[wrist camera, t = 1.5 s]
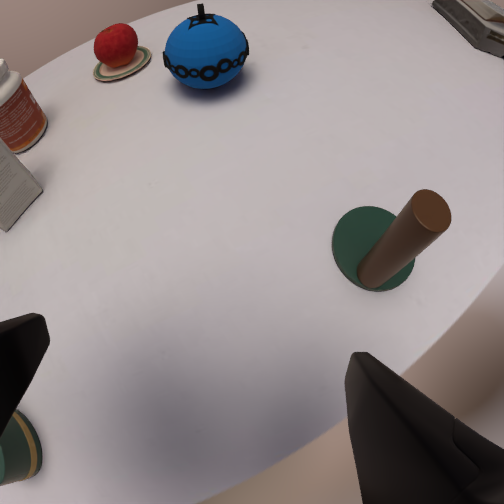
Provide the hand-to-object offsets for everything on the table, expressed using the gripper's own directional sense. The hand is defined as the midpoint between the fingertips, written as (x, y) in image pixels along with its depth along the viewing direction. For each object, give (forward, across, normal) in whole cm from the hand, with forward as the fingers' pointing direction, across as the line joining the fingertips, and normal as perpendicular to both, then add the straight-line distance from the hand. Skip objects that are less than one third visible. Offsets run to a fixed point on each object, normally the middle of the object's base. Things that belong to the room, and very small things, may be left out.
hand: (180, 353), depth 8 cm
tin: (+4, +18, +17) cm, 24 cm away
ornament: (+29, +5, -13) cm, 32 cm away
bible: (+53, -50, -41) cm, 84 cm away
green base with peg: (+16, -11, +1) cm, 20 cm away
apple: (+32, +18, -17) cm, 40 cm away
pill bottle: (+24, +27, -8) cm, 37 cm away
